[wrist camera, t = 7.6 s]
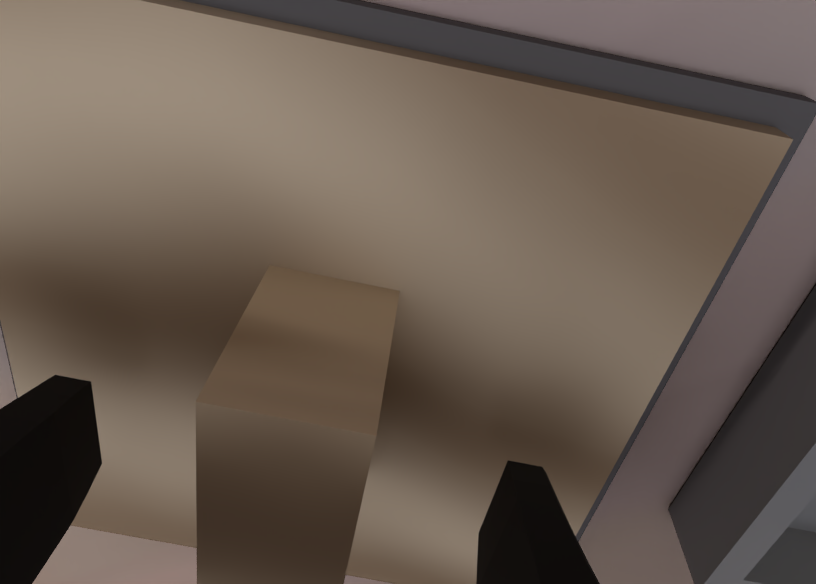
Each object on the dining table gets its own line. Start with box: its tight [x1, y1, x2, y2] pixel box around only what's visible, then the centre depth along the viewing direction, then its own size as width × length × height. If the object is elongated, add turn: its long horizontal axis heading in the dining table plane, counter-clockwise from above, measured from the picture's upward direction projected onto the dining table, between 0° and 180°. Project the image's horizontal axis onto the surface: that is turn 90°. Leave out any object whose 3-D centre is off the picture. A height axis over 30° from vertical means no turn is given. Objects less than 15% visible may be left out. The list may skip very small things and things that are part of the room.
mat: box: [0, 0, 816, 541], centre depth 13 cm, size 14×14×1 cm
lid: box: [0, 0, 793, 584], centre depth 11 cm, size 13×13×4 cm
